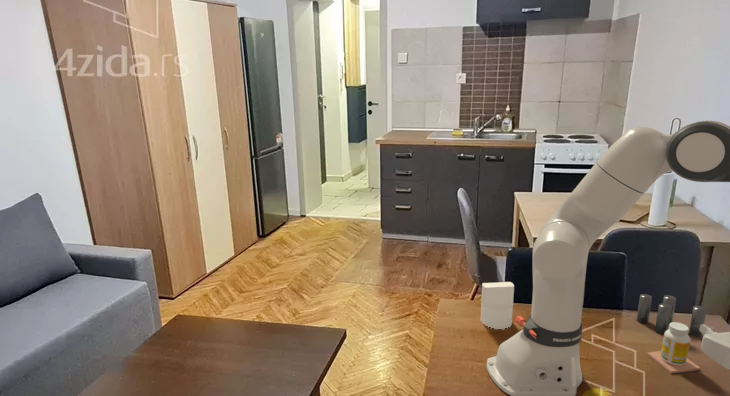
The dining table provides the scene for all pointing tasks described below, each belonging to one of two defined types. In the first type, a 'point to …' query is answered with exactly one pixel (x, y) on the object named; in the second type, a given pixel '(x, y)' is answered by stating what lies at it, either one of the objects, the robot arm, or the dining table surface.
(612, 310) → the dining table surface
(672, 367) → the terracotta tile
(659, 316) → the posts
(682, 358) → the supplement bottle
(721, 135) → the robot arm
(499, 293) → the cylinder with rectangular tab
